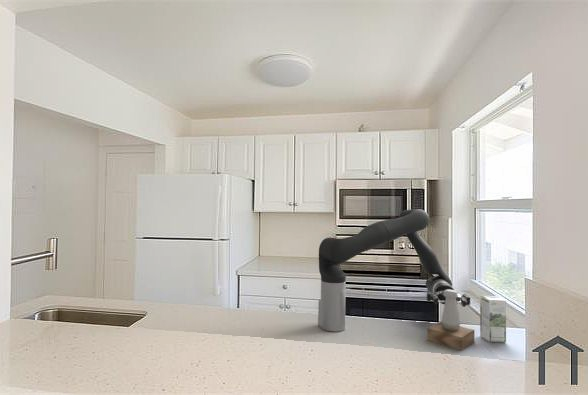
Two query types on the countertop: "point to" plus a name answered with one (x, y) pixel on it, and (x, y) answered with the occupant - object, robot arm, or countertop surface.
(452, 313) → the salt shaker
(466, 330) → the wooden block
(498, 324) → the syrup box
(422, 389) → the countertop surface
